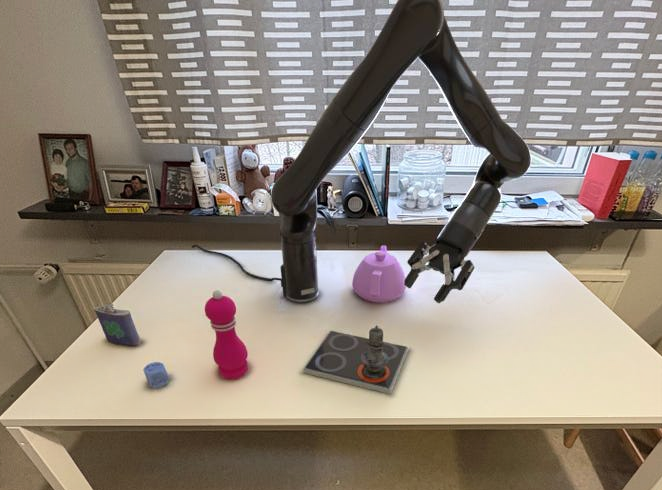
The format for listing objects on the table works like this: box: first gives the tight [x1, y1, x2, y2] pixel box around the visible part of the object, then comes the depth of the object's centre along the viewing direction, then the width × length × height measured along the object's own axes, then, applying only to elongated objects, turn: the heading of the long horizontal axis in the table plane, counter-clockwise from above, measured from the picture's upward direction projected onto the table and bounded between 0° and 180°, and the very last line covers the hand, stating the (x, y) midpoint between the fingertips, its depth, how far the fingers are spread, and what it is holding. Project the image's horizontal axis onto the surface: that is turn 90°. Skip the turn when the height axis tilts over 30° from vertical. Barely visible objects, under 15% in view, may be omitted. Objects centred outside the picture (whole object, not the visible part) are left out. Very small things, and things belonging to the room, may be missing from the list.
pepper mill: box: [204, 290, 249, 380], centre depth 85 cm, size 7×7×20 cm
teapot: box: [351, 245, 407, 303], centre depth 117 cm, size 22×16×12 cm
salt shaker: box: [361, 324, 389, 379], centre depth 85 cm, size 6×6×12 cm
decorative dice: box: [142, 361, 170, 389], centre depth 87 cm, size 4×4×4 cm
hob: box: [302, 330, 409, 395], centre depth 94 cm, size 20×16×2 cm
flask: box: [94, 302, 142, 348], centre depth 96 cm, size 9×3×11 cm, turn 74°
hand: (421, 293), depth 89 cm, fingers open, 8 cm apart
